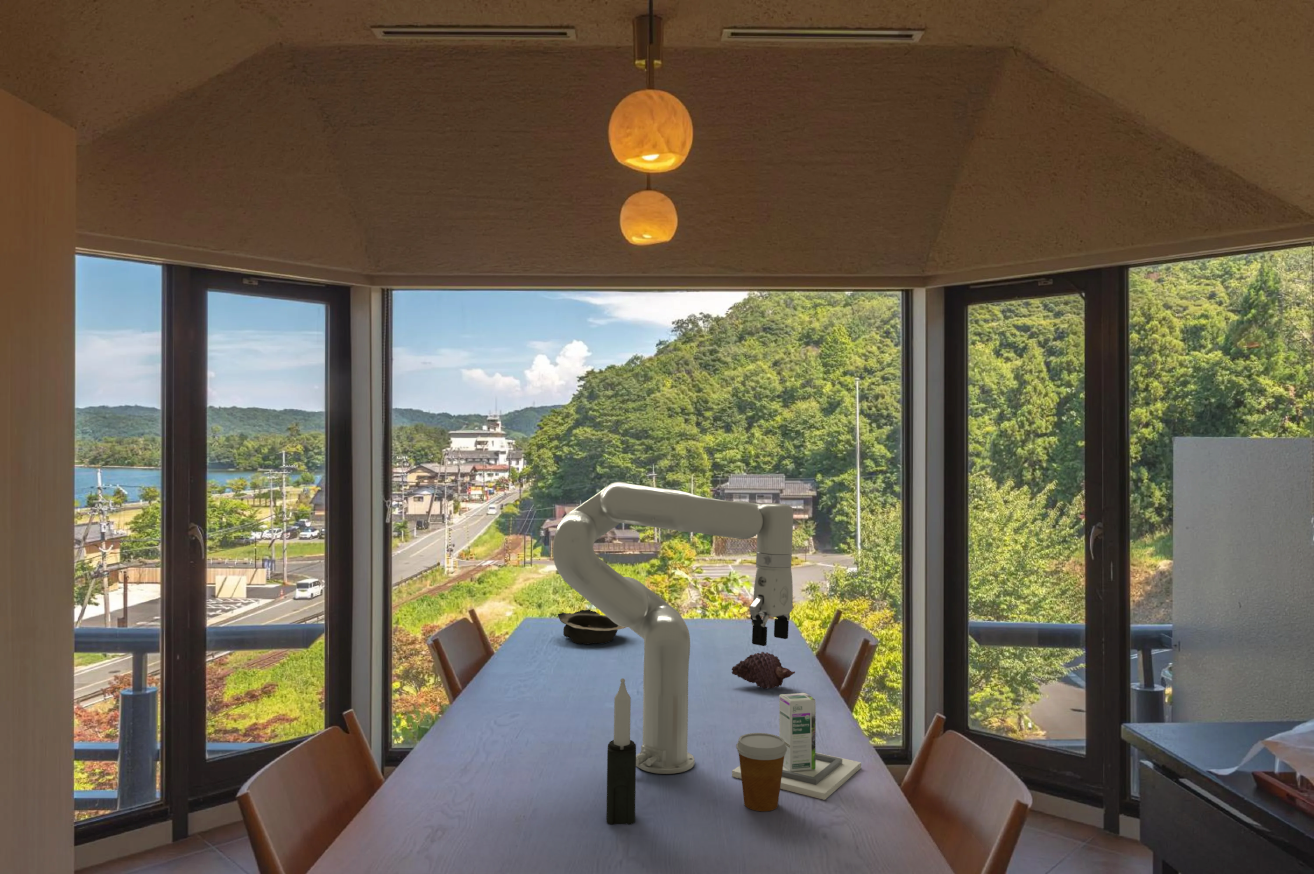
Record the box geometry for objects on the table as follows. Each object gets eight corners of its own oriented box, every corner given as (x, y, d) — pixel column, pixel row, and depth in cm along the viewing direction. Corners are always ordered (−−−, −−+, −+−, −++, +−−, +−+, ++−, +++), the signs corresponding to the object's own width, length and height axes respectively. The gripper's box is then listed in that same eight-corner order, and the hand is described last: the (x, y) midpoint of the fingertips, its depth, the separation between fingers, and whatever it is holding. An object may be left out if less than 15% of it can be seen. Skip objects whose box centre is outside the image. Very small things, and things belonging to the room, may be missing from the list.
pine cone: (730, 691, 234) (731, 655, 234) (732, 681, 243) (732, 647, 244) (795, 694, 231) (795, 657, 232) (793, 684, 241) (794, 649, 241)
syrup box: (790, 772, 171) (791, 700, 171) (778, 762, 177) (779, 692, 177) (815, 770, 172) (816, 698, 173) (803, 760, 178) (804, 691, 178)
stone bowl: (549, 633, 304) (551, 607, 304) (616, 635, 311) (618, 610, 312) (562, 648, 280) (565, 620, 281) (634, 649, 288) (637, 622, 288)
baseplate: (824, 799, 161) (824, 788, 161) (731, 776, 172) (732, 765, 172) (861, 767, 177) (861, 757, 177) (774, 748, 188) (774, 738, 188)
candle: (634, 812, 154) (636, 674, 154) (635, 824, 149) (637, 682, 149) (606, 812, 154) (609, 674, 154) (606, 824, 149) (608, 682, 149)
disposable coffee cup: (725, 803, 158) (725, 739, 158) (757, 790, 165) (757, 728, 165) (765, 820, 151) (766, 752, 152) (796, 805, 158) (797, 740, 158)
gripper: (770, 566, 171) (766, 650, 171) (807, 560, 185) (804, 638, 185) (738, 562, 176) (734, 644, 175) (776, 556, 190) (773, 632, 189)
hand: (770, 641), depth 180 cm, fingers open, 9 cm apart
